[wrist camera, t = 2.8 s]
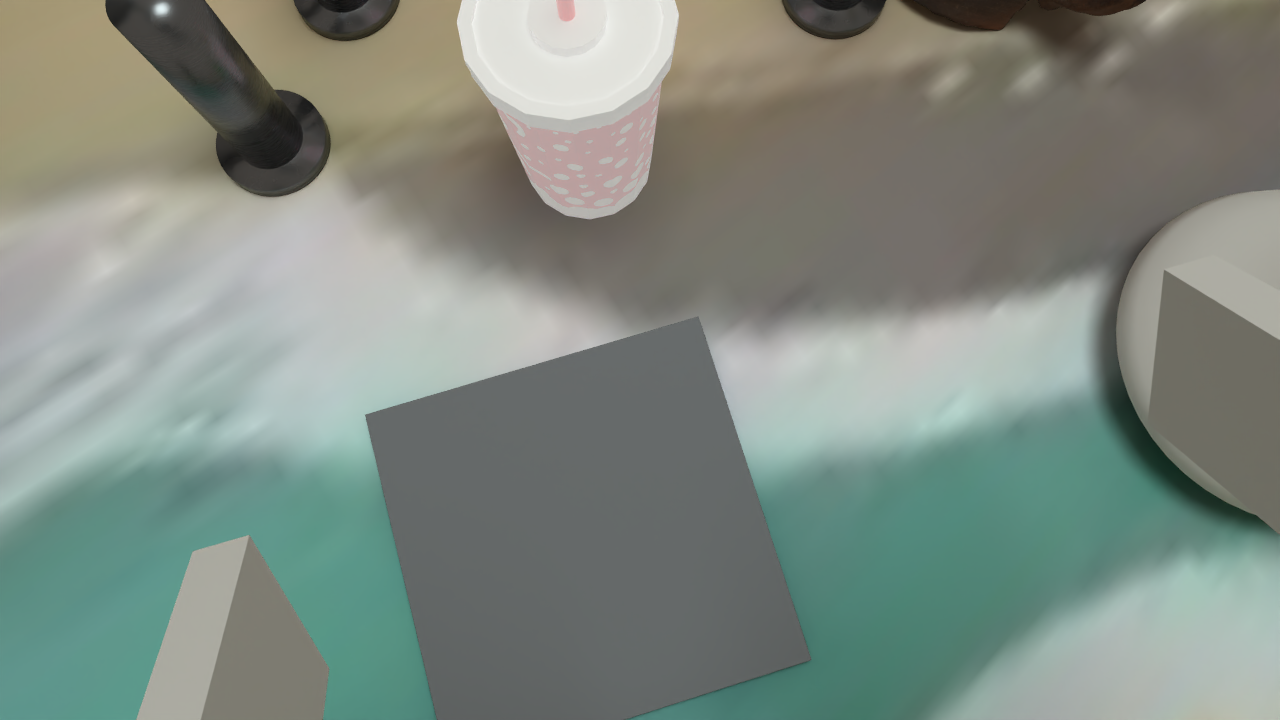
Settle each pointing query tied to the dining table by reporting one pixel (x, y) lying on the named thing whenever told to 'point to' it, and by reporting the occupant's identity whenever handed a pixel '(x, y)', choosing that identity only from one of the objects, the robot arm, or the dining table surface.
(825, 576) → the dining table surface
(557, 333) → the dining table surface
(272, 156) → the posts
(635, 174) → the beverage cup
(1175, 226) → the flower in vase
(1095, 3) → the pottery mug
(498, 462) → the mat
